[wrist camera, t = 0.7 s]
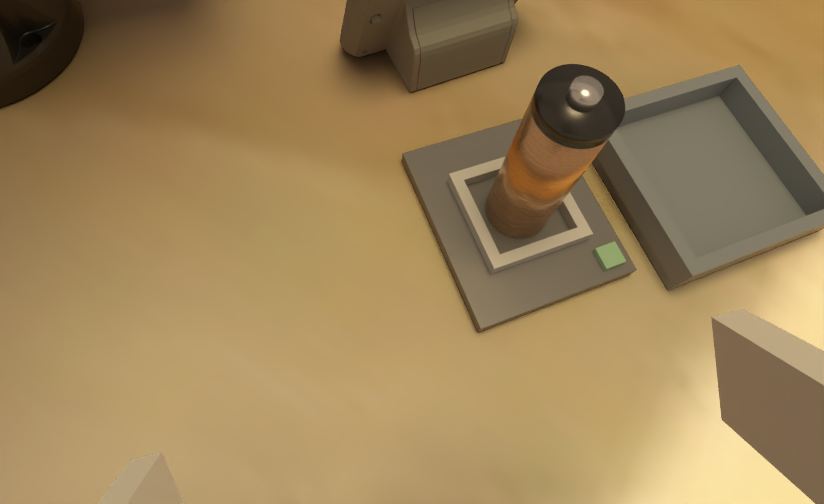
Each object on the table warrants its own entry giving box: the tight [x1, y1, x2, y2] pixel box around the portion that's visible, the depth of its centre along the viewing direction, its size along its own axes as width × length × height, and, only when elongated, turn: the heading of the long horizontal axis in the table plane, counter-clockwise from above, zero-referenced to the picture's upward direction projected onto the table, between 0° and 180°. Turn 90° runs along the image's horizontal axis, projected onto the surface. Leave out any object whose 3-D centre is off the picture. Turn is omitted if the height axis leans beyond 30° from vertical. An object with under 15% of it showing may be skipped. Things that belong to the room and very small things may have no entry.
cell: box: [485, 64, 625, 239], centre depth 31 cm, size 4×4×13 cm
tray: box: [592, 65, 824, 290], centre depth 39 cm, size 14×14×3 cm
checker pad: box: [402, 119, 637, 332], centre depth 37 cm, size 14×12×2 cm
